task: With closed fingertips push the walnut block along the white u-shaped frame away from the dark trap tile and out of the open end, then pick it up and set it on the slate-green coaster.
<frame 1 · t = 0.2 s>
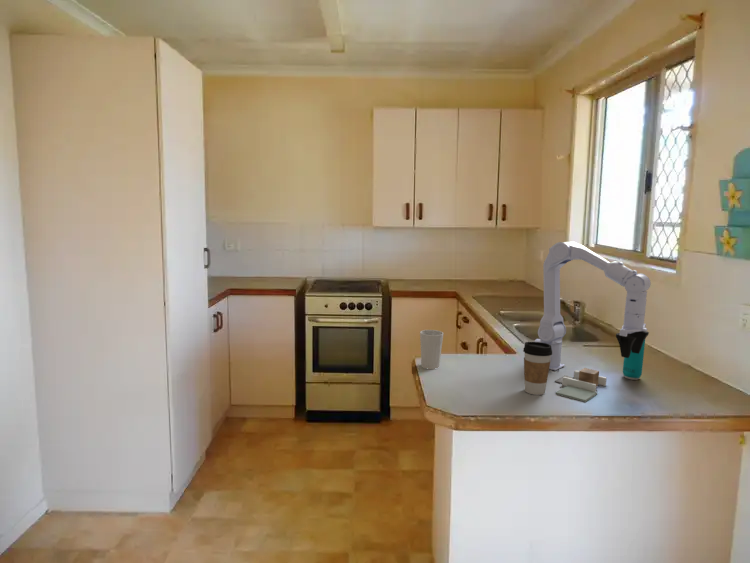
hand: (630, 355, 170), 10 cm above the countertop, fingers open, 7 cm apart
white u-shaped frame: (584, 385, 171), on the countertop
cup: (430, 367, 186), on the countertop
coffee cup: (534, 392, 164), on the countertop
block: (587, 386, 170), on the countertop
coaster: (576, 394, 163), on the countertop
beverage can: (631, 378, 179), on the countertop
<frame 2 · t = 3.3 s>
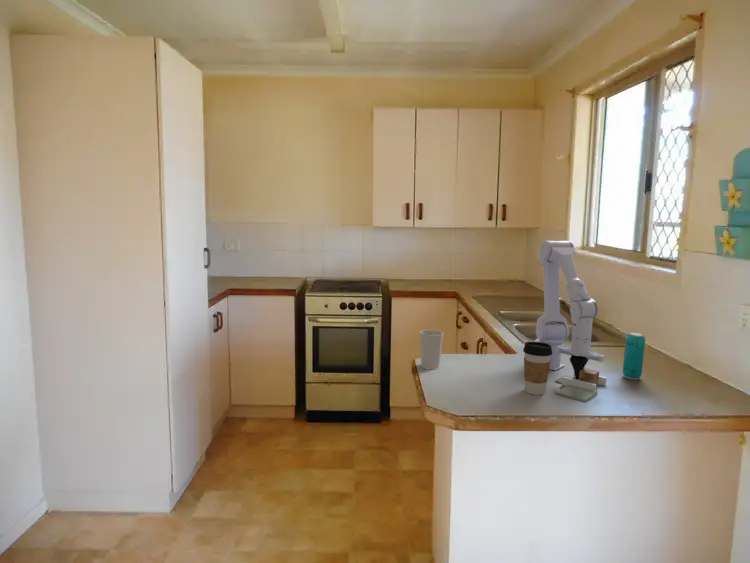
hand: (577, 379, 172), 1 cm above the countertop, fingers closed, pressing on block
block: (587, 386, 170), on the countertop, touching gripper
everything else where it was.
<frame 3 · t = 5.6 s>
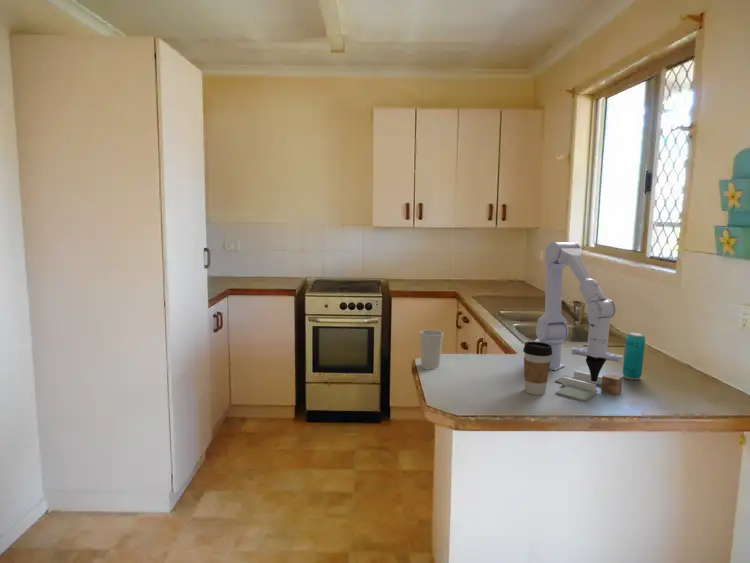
hand: (594, 380, 169), 2 cm above the countertop, fingers closed
block: (611, 391, 166), on the countertop
everything else where it was.
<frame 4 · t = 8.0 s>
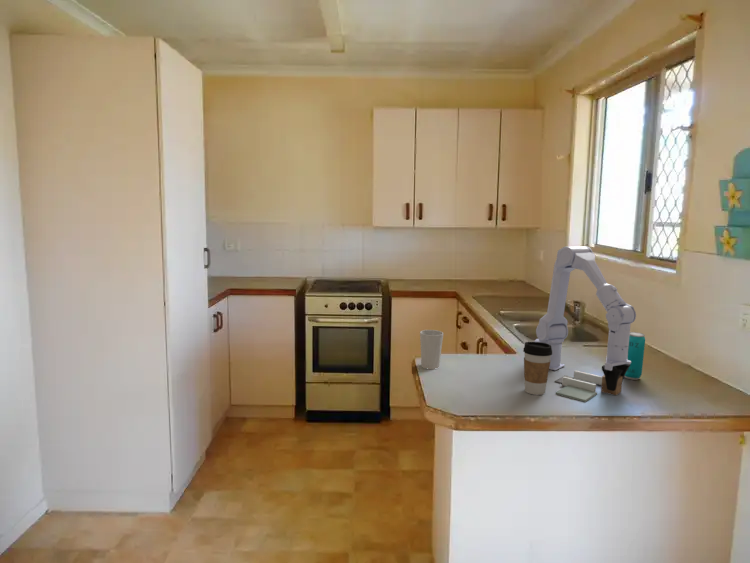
hand: (613, 387, 165), 1 cm above the countertop, fingers closed on block, 5 cm apart
block: (611, 391, 166), on the countertop, touching gripper
everything else where it was.
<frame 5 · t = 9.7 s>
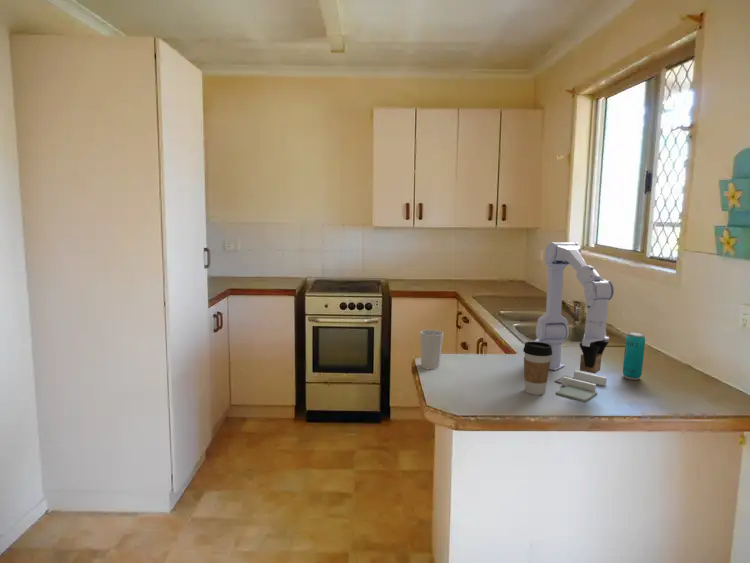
hand: (592, 365, 162), 9 cm above the countertop, fingers closed on block, 4 cm apart
block: (590, 370, 163), point 7 cm above the countertop, touching gripper
everything else where it was.
when the fingers open (3 cm above the countertop, at t = 11.5 s): block moves 1 cm, resting on coaster.
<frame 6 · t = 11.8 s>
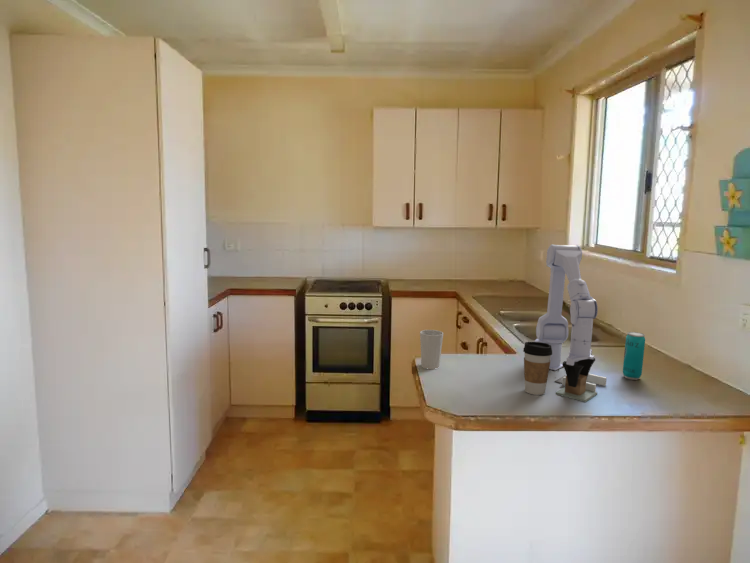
hand: (577, 383, 162), 3 cm above the countertop, fingers open, 7 cm apart
block: (574, 391, 163), point 1 cm above the countertop, touching coaster
everything else where it was.
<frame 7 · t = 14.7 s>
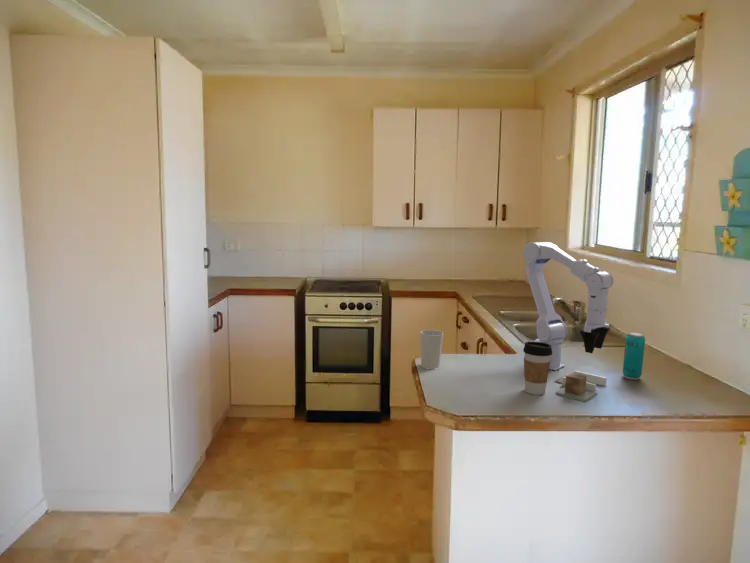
hand: (593, 350, 175), 10 cm above the countertop, fingers open, 7 cm apart
nothing on the countertop moved.
at the end: block inside the target area on the coaster (0.5 cm from its centre), point 0.6 cm above the coaster's base; block tilted 0°; the gripper is holding nothing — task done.
